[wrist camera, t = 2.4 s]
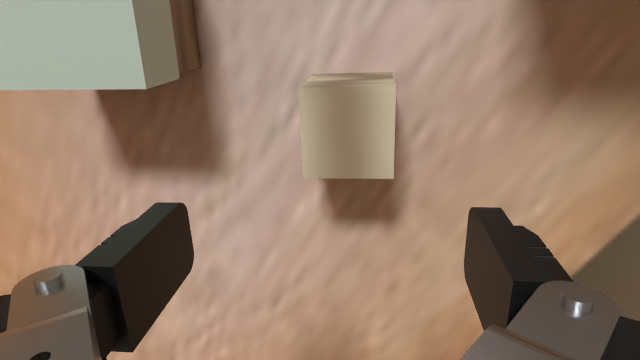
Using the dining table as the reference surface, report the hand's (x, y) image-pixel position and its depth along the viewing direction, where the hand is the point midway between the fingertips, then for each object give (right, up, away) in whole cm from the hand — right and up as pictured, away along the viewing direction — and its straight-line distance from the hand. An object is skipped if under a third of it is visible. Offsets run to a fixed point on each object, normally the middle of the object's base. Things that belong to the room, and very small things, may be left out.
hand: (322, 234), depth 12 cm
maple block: (+2, +6, +16) cm, 18 cm away
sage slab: (-12, +11, +12) cm, 21 cm away
